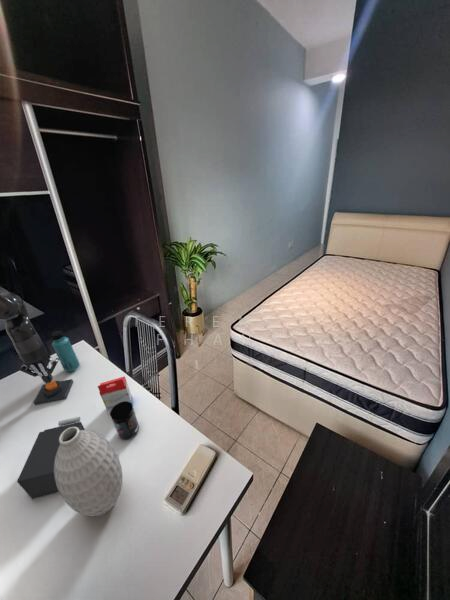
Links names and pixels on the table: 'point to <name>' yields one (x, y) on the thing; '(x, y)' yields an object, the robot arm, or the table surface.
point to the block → (54, 392)
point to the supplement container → (124, 420)
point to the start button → (51, 386)
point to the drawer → (66, 422)
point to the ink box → (115, 392)
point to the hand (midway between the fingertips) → (49, 381)
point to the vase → (87, 472)
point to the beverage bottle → (64, 351)
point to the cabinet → (42, 464)
